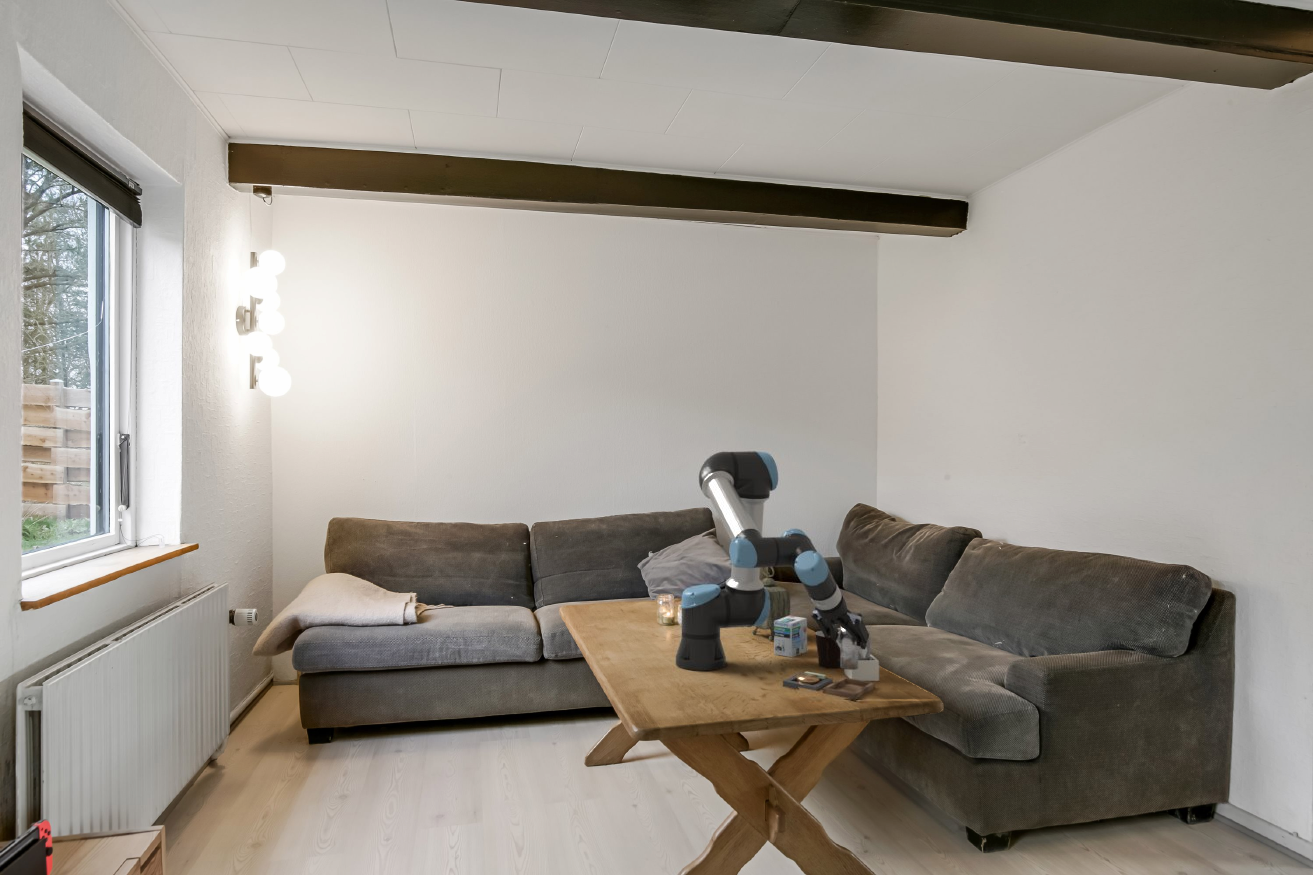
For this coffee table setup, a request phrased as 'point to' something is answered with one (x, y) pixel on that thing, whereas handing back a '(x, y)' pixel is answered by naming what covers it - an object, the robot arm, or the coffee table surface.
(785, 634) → the light bulb box
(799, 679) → the brown flat disc
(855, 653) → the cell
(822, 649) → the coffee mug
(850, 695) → the brown wooden tray
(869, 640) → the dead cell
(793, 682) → the base
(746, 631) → the coffee table surface
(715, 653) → the robot arm
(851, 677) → the white square box
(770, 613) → the tabletop clock
